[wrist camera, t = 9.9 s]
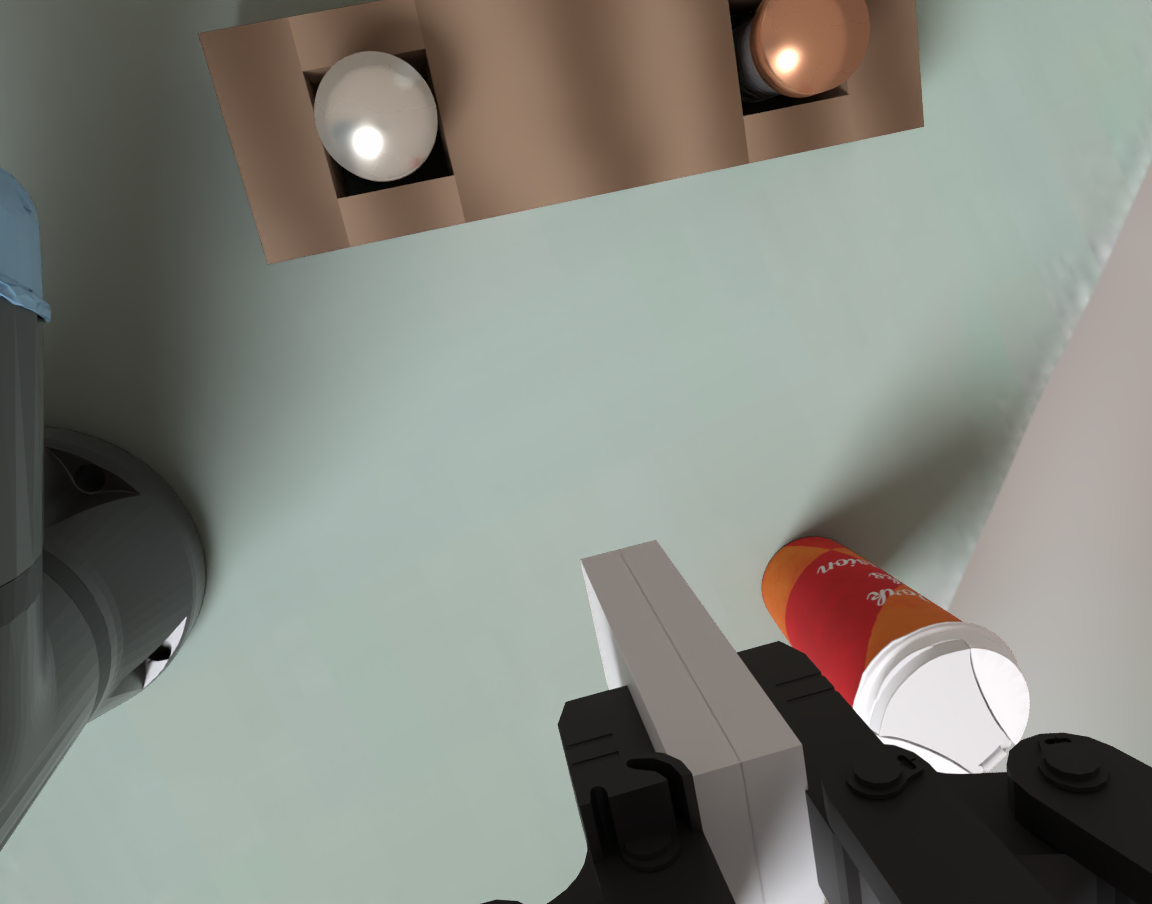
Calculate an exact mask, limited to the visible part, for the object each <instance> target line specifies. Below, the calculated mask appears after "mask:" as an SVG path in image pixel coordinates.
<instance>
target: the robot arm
mask: <svg viewBox="0 0 1152 904" xmlns="http://www.w3.org/2000/svg"><path fill="white" fill-rule="evenodd" d="M50 321H51V310H50V306H49V305H48V303H47V302H46V301H45V300H43V290H42V271H41V252H40V233H39V221H38V216H37V213H36V209H35V206H34V204H33V202H32V200H31V198H30V196H29V194H28V193H27V192H26V190H25V189H24V188H23V186H22V185H21V184H20V183H19V182H18V181H17V180H16V179H15V178H14V177H13V176H12V175H10V174H9V173H8V172H7V171H5V170H4V169H3V168H1V167H0V851H1V850H2V848H3V847H4V845H5V844H6V842H7V841H8V839H9V838H10V836H11V835H12V833H13V832H14V830H15V829H16V828H17V826H18V825H19V823H20V822H21V820H22V819H23V817H24V816H25V814H26V813H27V811H28V810H29V808H30V807H31V805H32V804H33V802H34V801H35V799H36V798H37V796H38V795H39V793H40V792H41V790H42V789H43V787H44V786H45V784H46V783H47V782H48V780H49V779H50V777H51V776H52V774H53V773H54V771H55V770H56V768H57V767H58V765H59V764H60V762H61V761H62V759H63V758H64V756H65V755H66V753H67V752H68V750H69V749H70V747H71V746H72V744H73V743H74V741H75V740H76V738H77V737H78V735H79V734H80V733H81V731H82V729H83V728H84V726H85V725H86V724H87V723H88V722H90V721H92V720H94V719H95V718H97V717H99V716H101V715H102V714H104V713H106V712H108V711H109V710H111V709H113V708H115V707H117V706H118V705H120V704H122V703H124V702H125V701H127V700H129V699H130V698H132V697H133V696H135V695H137V694H138V693H139V692H141V691H142V690H143V689H145V688H146V687H147V686H148V685H149V684H151V683H152V682H153V681H154V680H155V679H156V678H157V677H158V676H159V675H160V674H161V673H162V672H163V671H164V670H165V669H166V668H167V667H168V665H169V664H170V663H171V662H172V660H173V659H174V658H175V656H176V655H177V653H178V652H179V650H180V648H181V647H182V645H183V643H184V642H185V640H186V638H187V636H188V635H189V633H190V631H191V630H192V628H193V626H194V624H195V622H196V619H197V617H198V614H199V612H200V608H201V605H202V601H203V596H204V590H205V576H206V572H205V560H204V553H203V549H202V544H201V541H200V538H199V535H198V532H197V529H196V527H195V525H194V522H193V520H192V518H191V516H190V514H189V513H188V511H187V509H186V508H185V506H184V505H183V503H182V502H181V500H180V499H179V498H178V496H177V495H176V494H175V492H174V491H173V490H172V489H171V488H170V486H169V485H168V484H167V483H166V482H165V481H164V480H163V479H162V478H161V477H160V476H159V475H157V474H156V473H155V472H154V471H153V470H152V469H150V468H149V467H148V466H147V465H145V464H144V463H143V462H141V461H140V460H138V459H137V458H135V457H134V456H132V455H131V454H129V453H127V452H126V451H124V450H122V449H120V448H118V447H116V446H114V445H112V444H110V443H107V442H105V441H103V440H100V439H98V438H95V437H92V436H89V435H86V434H82V433H79V432H74V431H70V430H65V429H59V428H52V427H44V334H43V322H50ZM580 561H581V565H582V570H583V574H584V579H585V584H586V588H587V593H588V598H589V602H590V607H591V611H592V616H593V621H594V625H595V630H596V635H597V639H598V644H599V648H600V653H601V658H602V662H603V667H604V672H605V676H606V681H607V684H608V687H609V690H608V691H604V692H600V693H597V694H593V695H589V696H586V697H582V698H578V699H575V700H571V701H568V702H566V703H565V706H564V708H563V711H562V714H561V717H560V720H559V723H558V728H559V732H560V736H561V740H562V745H563V749H564V753H565V757H566V761H567V765H568V769H569V774H570V778H571V782H572V786H573V790H574V794H575V799H576V803H577V807H578V811H579V815H580V819H581V823H582V827H583V830H584V834H585V838H586V842H587V850H588V851H587V855H586V859H585V863H584V865H583V867H582V869H581V871H580V873H579V875H578V877H577V878H576V879H575V880H574V881H573V882H572V884H571V885H570V886H569V887H568V888H567V889H566V890H565V891H564V892H562V893H561V894H560V895H558V896H557V897H556V898H555V899H553V900H552V901H550V902H549V903H547V904H824V898H823V894H824V895H825V897H826V899H827V900H828V902H829V904H1152V767H1150V766H1148V765H1146V764H1144V763H1142V762H1140V761H1139V760H1137V759H1135V758H1133V757H1131V756H1129V755H1127V754H1126V753H1124V752H1122V751H1120V750H1118V749H1116V748H1114V747H1112V746H1110V745H1107V744H1105V743H1102V742H1100V741H1097V740H1095V739H1092V738H1090V737H1085V736H1079V735H1073V734H1068V733H1049V734H1038V735H1035V736H1032V737H1029V738H1026V739H1023V740H1021V741H1020V742H1019V743H1018V744H1017V745H1015V746H1014V747H1013V748H1012V749H1011V750H1010V751H1009V756H1008V761H1007V772H1001V773H1000V772H998V773H974V774H952V773H941V772H937V771H936V770H935V769H934V768H933V767H932V766H931V765H930V764H929V763H928V762H926V761H925V760H924V759H922V758H921V757H920V756H918V755H917V754H916V753H914V752H912V751H909V750H907V749H904V748H901V747H898V746H896V745H889V744H883V742H882V741H881V740H880V739H879V738H878V737H877V736H876V734H875V733H874V732H873V731H872V730H871V729H870V728H869V726H868V725H867V724H866V723H865V722H864V721H863V719H862V718H861V717H860V716H859V715H858V714H857V713H856V711H855V710H854V709H853V708H852V707H851V706H850V705H849V703H848V702H847V701H846V700H845V699H844V698H843V697H842V695H841V694H840V693H839V692H838V691H835V688H834V686H833V685H832V684H831V683H830V682H829V680H828V679H827V678H826V677H825V676H822V674H821V671H820V670H819V669H818V668H817V667H816V666H815V664H814V663H813V662H812V661H811V660H810V659H809V657H808V656H807V655H806V654H805V653H803V652H801V651H799V650H797V649H795V648H792V647H790V646H788V645H786V644H784V643H782V642H780V641H777V642H774V643H770V644H766V645H763V646H759V647H755V648H752V649H748V650H744V651H741V652H737V653H736V651H735V650H734V648H733V647H732V646H731V644H730V643H729V641H728V640H727V639H726V637H725V636H724V634H723V633H722V632H721V630H720V629H719V627H718V626H717V625H716V623H715V622H714V620H713V619H712V618H711V616H710V615H709V613H708V612H707V611H706V609H705V608H704V606H703V605H702V604H701V602H700V601H699V599H698V598H697V597H696V595H695V594H694V592H693V591H692V590H691V588H690V587H689V585H688V584H687V583H686V581H685V580H684V578H683V577H682V576H681V574H680V573H679V571H678V570H677V569H676V567H675V566H674V564H673V563H672V562H671V560H670V559H669V557H668V556H667V555H666V553H665V552H664V550H663V549H662V548H661V546H660V545H659V543H658V542H657V541H656V540H654V541H650V542H646V543H642V544H638V545H634V546H630V547H626V548H623V549H619V550H615V551H611V552H607V553H603V554H599V555H595V556H591V557H588V558H584V559H580ZM482 904H522V903H520V902H518V901H509V900H493V901H490V902H486V903H482Z"/></svg>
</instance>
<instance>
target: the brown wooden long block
mask: <svg viewBox="0 0 1152 904" xmlns="http://www.w3.org/2000/svg"><path fill="white" fill-rule="evenodd" d="M761 2H762V0H381V1H375V2H369V3H364V4H358V5H353V6H347V7H342V8H336V9H330V10H325V11H319V12H314V13H308V14H303V15H297V16H291V17H286V18H280V19H275V20H269V21H264V22H258V23H252V24H247V25H241V26H236V27H230V28H225V29H219V30H213V31H208V32H202V33H198V35H199V39H200V42H201V45H202V49H203V52H204V55H205V59H206V62H207V65H208V68H209V72H210V75H211V78H212V82H213V85H214V88H215V92H216V95H217V98H218V101H219V105H220V108H221V111H222V115H223V118H224V121H225V125H226V128H227V131H228V134H229V138H230V141H231V144H232V148H233V151H234V154H235V158H236V161H237V164H238V167H239V171H240V174H241V177H242V181H243V184H244V187H245V191H246V194H247V197H248V200H249V204H250V207H251V210H252V214H253V217H254V220H255V224H256V227H257V230H258V234H259V237H260V240H261V243H262V247H263V250H264V253H265V257H266V260H267V263H268V264H272V263H277V262H281V261H286V260H291V259H296V258H300V257H305V256H310V255H315V254H319V253H324V252H329V251H334V250H338V249H343V248H348V247H353V246H357V245H362V244H367V243H372V242H377V241H381V240H386V239H391V238H396V237H400V236H405V235H410V234H415V233H419V232H424V231H429V230H434V229H438V228H443V227H448V226H453V225H458V224H462V223H467V222H472V221H477V220H481V219H486V218H491V217H496V216H500V215H505V214H510V213H515V212H519V211H524V210H529V209H534V208H538V207H543V206H548V205H553V204H558V203H562V202H567V201H572V200H577V199H581V198H586V197H591V196H596V195H600V194H605V193H610V192H615V191H619V190H624V189H629V188H634V187H639V186H643V185H648V184H653V183H658V182H662V181H667V180H672V179H677V178H681V177H686V176H691V175H696V174H700V173H705V172H710V171H715V170H719V169H724V168H729V167H734V166H739V165H743V164H748V163H753V162H758V161H762V160H767V159H772V158H777V157H781V156H786V155H791V154H796V153H800V152H805V151H810V150H815V149H820V148H824V147H829V146H834V145H839V144H843V143H848V142H853V141H858V140H862V139H867V138H872V137H877V136H881V135H886V134H891V133H896V132H900V131H905V130H910V129H915V128H920V127H924V119H923V104H922V90H921V76H920V62H919V48H918V33H917V19H916V5H915V0H865V3H866V5H867V9H868V13H869V19H870V35H869V42H868V46H867V49H866V52H865V55H864V57H863V59H862V61H861V63H860V65H859V66H858V68H857V69H856V70H855V72H854V73H853V74H852V75H851V76H850V77H849V78H848V79H847V80H846V81H845V82H843V83H842V84H840V85H839V86H837V87H835V88H833V89H830V90H827V91H824V92H821V93H818V94H815V95H812V96H809V97H802V98H796V97H792V105H793V106H791V107H786V108H781V109H777V110H772V111H767V112H762V113H757V114H752V115H747V116H743V111H742V103H741V95H740V88H739V80H738V72H737V65H736V57H735V49H734V42H733V34H732V26H731V19H730V16H732V15H737V14H742V13H747V12H753V11H756V10H757V8H758V6H759V5H760V3H761ZM365 51H377V52H383V53H387V54H390V55H393V56H396V57H398V58H400V59H402V60H403V61H405V62H407V63H408V64H409V65H411V66H412V67H413V68H414V69H415V70H416V71H417V72H418V73H419V74H420V75H421V74H426V76H427V81H428V85H429V88H430V90H431V93H432V95H433V98H434V101H435V104H436V110H437V121H438V123H437V124H438V128H439V132H440V137H441V141H442V145H443V149H444V154H445V158H446V162H447V167H448V171H449V175H450V176H447V177H442V178H438V179H433V180H428V181H423V182H418V183H413V184H408V185H403V186H398V187H393V188H388V189H383V190H379V191H374V192H369V193H364V194H359V195H354V196H348V192H347V188H346V184H345V181H344V177H343V173H342V170H341V166H340V164H339V163H338V162H337V161H336V160H334V159H333V157H332V156H331V155H330V154H329V153H328V151H327V150H326V148H325V147H324V145H323V143H322V141H321V139H320V137H319V134H318V131H317V128H316V123H315V116H314V104H315V98H316V93H317V90H318V87H319V85H320V83H321V81H322V79H323V77H324V76H325V74H326V73H327V72H328V71H329V69H330V68H331V67H332V66H333V65H335V64H336V63H337V62H338V61H340V60H341V59H343V58H345V57H347V56H349V55H352V54H355V53H359V52H365Z"/></svg>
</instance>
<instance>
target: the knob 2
mask: <svg viewBox="0 0 1152 904" xmlns="http://www.w3.org/2000/svg"><path fill="white" fill-rule="evenodd" d="M732 34H733V42H734V49H735V57H736V65H737V72H738V80H739V88H740V95H741V101H744V102H749V103H755V102H760V101H764V100H766V99H769V98H772V97H775V96H777V95H780V94H782V95H785V96H789V97H796V98H802V97H809V96H812V95H815V94H818V93H821V92H824V91H827V90H830V89H833V88H835V87H837V86H839V85H840V84H842V83H843V82H845V81H846V80H847V79H848V78H849V77H850V76H851V75H852V74H853V73H854V72H855V70H856V69H857V68H858V66H859V65H860V63H861V61H862V59H863V57H864V55H865V52H866V49H867V46H868V42H869V35H870V19H869V13H868V9H867V5H866V3H865V0H762V2H761V3H760V5H759V6H758V8H757V10H756V12H755V15H754V16H753V17H752V18H750V19H749V20H747V21H746V22H744V23H742V24H741V25H739V26H738V27H736V28H735V29H733V30H732Z"/></svg>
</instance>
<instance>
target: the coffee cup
mask: <svg viewBox="0 0 1152 904" xmlns="http://www.w3.org/2000/svg"><path fill="white" fill-rule="evenodd" d="M762 597H763V600H764V603H765V605H766V608H767V609H768V611H769V613H770V615H771V616H772V618H773V619H774V621H775V622H776V624H777V625H778V627H779V628H780V630H781V631H782V633H783V634H784V635H785V637H786V638H787V640H788V641H789V643H790V644H791V645H792V647H793V648H795V649H797V650H799V651H801V652H803V653H805V654H806V655H807V656H808V657H809V659H810V660H811V661H812V662H813V663H814V664H815V666H816V667H817V668H818V669H819V670H820V671H821V674H822V676H825V677H826V678H827V679H828V680H829V682H830V683H831V684H832V685H833V686H834V688H835V691H838V692H839V693H840V694H841V695H842V697H843V698H844V699H845V700H846V701H847V702H848V703H849V705H850V706H851V707H852V708H853V709H854V710H855V711H856V713H857V714H858V715H859V716H860V717H861V718H862V719H863V721H864V722H865V723H866V724H867V725H868V726H869V728H870V729H871V730H872V731H873V732H874V733H875V734H876V736H877V737H878V738H879V739H880V740H881V741H882V742H883V744H889V745H896V746H898V747H901V748H904V749H907V750H909V751H912V752H914V753H916V754H917V755H918V756H920V757H921V758H922V759H924V760H925V761H926V762H928V763H929V764H930V765H931V766H932V767H933V768H934V769H935V770H936V771H937V772H941V773H952V774H974V773H982V772H983V771H984V770H986V771H987V772H989V771H990V770H991V769H992V768H993V767H994V766H995V765H996V764H997V763H998V762H999V761H1000V760H1001V759H1002V758H1003V757H1005V756H1006V755H1007V753H1006V752H1005V750H1006V749H1007V748H1008V747H1009V746H1010V745H1011V742H1010V740H1011V741H1012V742H1013V743H1014V744H1016V745H1017V744H1018V742H1019V740H1020V739H1021V737H1022V735H1023V732H1024V729H1025V727H1026V724H1027V720H1028V716H1029V706H1030V705H1029V704H1030V701H1029V691H1028V687H1027V684H1026V680H1025V678H1024V676H1023V674H1022V672H1021V670H1020V669H1019V667H1018V664H1017V662H1016V659H1015V657H1014V655H1013V653H1012V651H1011V650H1010V648H1009V647H1008V646H1007V644H1006V643H1005V642H1004V641H1003V640H1002V639H1001V638H1000V637H998V636H997V635H996V634H995V633H993V632H991V631H989V630H988V629H986V628H984V627H981V626H978V625H975V624H973V623H966V622H962V621H961V620H959V619H958V618H956V617H955V616H953V615H952V614H950V613H948V612H947V611H945V610H944V609H942V608H941V607H939V606H937V605H936V604H934V603H933V602H931V601H930V600H928V599H927V598H925V597H923V596H922V595H920V594H919V593H917V592H916V591H914V590H913V589H911V588H909V587H908V586H906V585H905V584H903V583H902V582H900V581H898V580H897V579H895V578H894V577H892V576H891V575H889V574H887V573H886V572H884V571H883V570H881V569H880V568H878V567H876V566H875V565H873V564H872V563H870V562H868V561H867V560H865V559H864V558H862V557H861V556H859V555H857V554H856V553H854V552H852V551H851V550H849V549H847V548H846V547H844V546H842V545H841V544H839V543H837V542H835V541H833V540H830V539H827V538H823V537H816V536H813V537H804V538H800V539H797V540H795V541H792V542H791V543H789V544H787V545H786V546H784V547H783V548H781V549H780V550H779V551H778V552H777V553H776V554H775V555H774V556H773V558H772V559H771V560H770V562H769V564H768V565H767V567H766V569H765V572H764V575H763V579H762Z"/></svg>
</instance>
